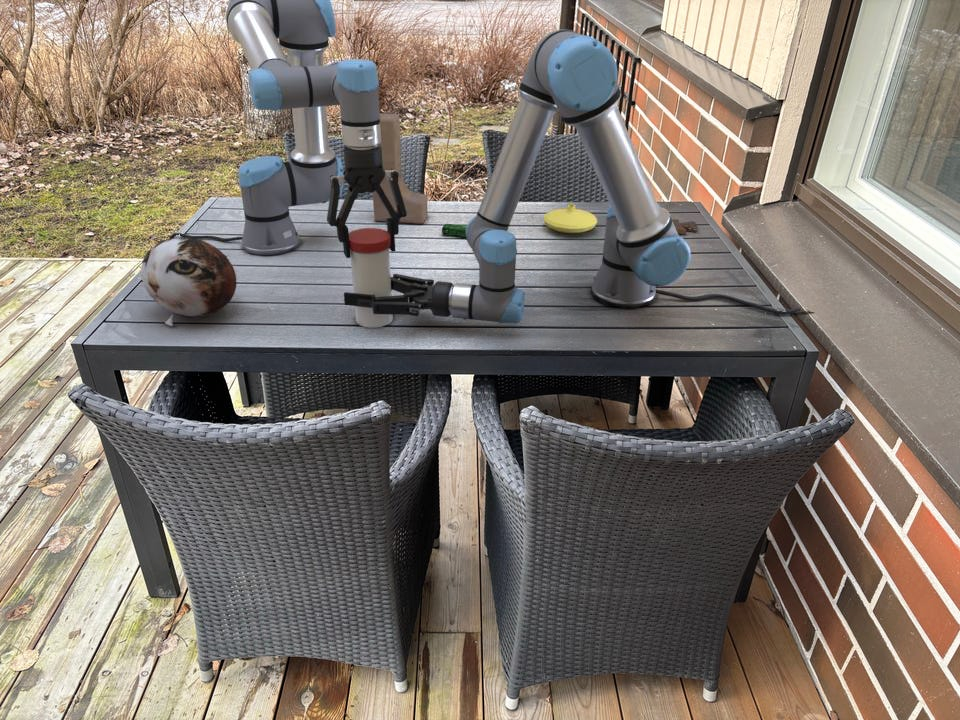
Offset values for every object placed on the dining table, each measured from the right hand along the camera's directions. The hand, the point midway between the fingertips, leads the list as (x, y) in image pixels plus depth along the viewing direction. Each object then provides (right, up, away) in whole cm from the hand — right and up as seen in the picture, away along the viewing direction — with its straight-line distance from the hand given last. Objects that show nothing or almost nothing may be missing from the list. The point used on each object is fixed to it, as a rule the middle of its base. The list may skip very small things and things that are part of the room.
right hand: (352, 289), depth 158 cm
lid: (+5, +10, -7) cm, 14 cm away
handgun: (+27, +22, +50) cm, 61 cm away
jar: (+4, -6, +3) cm, 8 cm away
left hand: (+5, +7, -6) cm, 10 cm away
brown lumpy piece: (+80, +23, +55) cm, 100 cm away
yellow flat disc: (+55, +23, +53) cm, 80 cm away
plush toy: (-36, -5, +4) cm, 36 cm away
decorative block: (+4, +27, +59) cm, 65 cm away
